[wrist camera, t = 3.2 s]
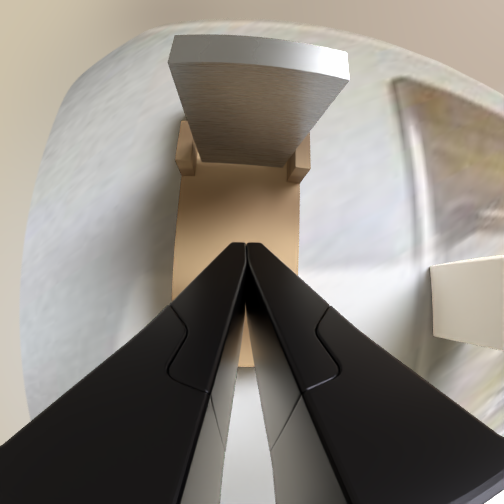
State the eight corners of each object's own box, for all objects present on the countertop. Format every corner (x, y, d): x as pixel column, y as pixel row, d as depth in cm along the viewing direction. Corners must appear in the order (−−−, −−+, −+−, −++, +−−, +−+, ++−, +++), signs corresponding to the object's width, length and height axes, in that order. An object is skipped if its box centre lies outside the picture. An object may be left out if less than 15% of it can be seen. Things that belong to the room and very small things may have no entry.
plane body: (282, 354, 19) (302, 379, 13) (178, 350, 18) (161, 374, 13) (289, 111, 21) (305, 68, 15) (199, 105, 20) (193, 60, 15)
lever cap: (282, 167, 16) (349, 80, 6) (201, 162, 16) (168, 62, 6) (283, 139, 16) (344, 32, 6) (204, 133, 16) (180, 16, 6)
